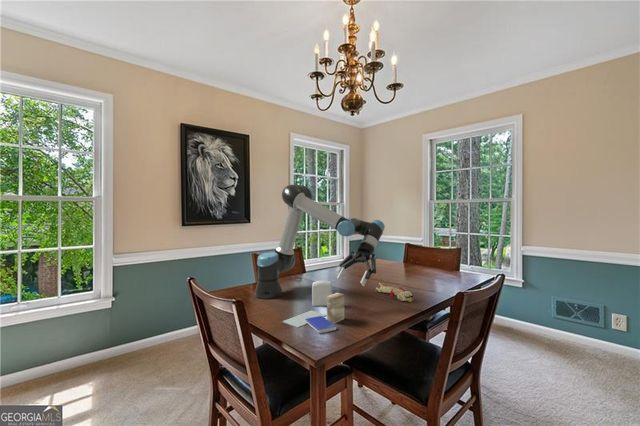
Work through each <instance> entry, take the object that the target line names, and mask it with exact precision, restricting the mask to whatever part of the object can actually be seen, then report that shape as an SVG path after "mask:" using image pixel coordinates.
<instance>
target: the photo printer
mask: <svg viewBox="0 0 640 426" xmlns="http://www.w3.org/2000/svg"><path fill="white" fill-rule="evenodd" d="M311 286H312V287H311V299H312V300H311V301H312V302H311V304H312V306H313V307H320V306H321V307H322V306H325V307H327V296H329V295H332V294H333V284H332V282H331V281H329V280H317V281H313V282H312V285H311Z"/></svg>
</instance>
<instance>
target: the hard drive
mask: <svg viewBox="0 0 640 426" xmlns="http://www.w3.org/2000/svg"><path fill="white" fill-rule="evenodd" d="M305 322H306V323H307V324H306V325H309V326H310V327H311V328H312V329H313V330H314V331H315V332H317V333H318V334H323V333H328V332H331V331H336V330H337V325H335V324H334V323H331V322H330V321H328V320H327V317H326V318H325V317H323V316H318V317H312V318H307V319H305Z"/></svg>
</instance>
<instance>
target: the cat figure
mask: <svg viewBox="0 0 640 426" xmlns="http://www.w3.org/2000/svg"><path fill="white" fill-rule="evenodd" d="M377 281H378V283H377V284H378V285H380V287H375V290H374V291H375V292H376V293H378V292H379V293H383V294H385V293H386V294H389V296H390V299H394V295H395V296H396V298H397V300H400V301H404V302H409V303H410V302H412V301H414V298H413V297H414V295H413V294H412V292H411V291H408V290H404V289H403V288H402V287H401V286H398V288H397V287H393V286H385V285H384V284H383V283H382V282H383V280H382V278H379V279H378V280H377Z"/></svg>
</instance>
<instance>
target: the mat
mask: <svg viewBox="0 0 640 426" xmlns="http://www.w3.org/2000/svg"><path fill="white" fill-rule="evenodd" d="M318 316H323V317H324V318H325V317H326V316H327V314H324V313H322V312H318V311H315V310H309V311H306V312H303V313H301V314H299V315H296V316H293V317H291V318H290V317H289V318H288V319H284V320H282V323H284V324H286V325H289V326H291V327H294V328H296V329H298V328H301V327H303V326H306V325H308V324H307V323H306V322H305V319H307V318H312V317H318Z"/></svg>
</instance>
